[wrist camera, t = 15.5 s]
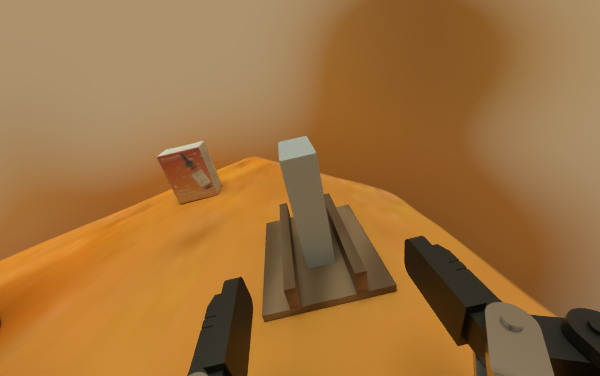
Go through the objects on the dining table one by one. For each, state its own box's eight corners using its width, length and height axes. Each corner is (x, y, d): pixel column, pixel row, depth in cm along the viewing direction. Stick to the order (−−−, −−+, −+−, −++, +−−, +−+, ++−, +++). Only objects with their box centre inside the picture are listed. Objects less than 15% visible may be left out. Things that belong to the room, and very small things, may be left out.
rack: (264, 321, 20) (254, 297, 18) (268, 227, 32) (261, 208, 31) (396, 290, 20) (396, 264, 18) (348, 209, 32) (346, 189, 31)
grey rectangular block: (307, 269, 23) (279, 161, 18) (300, 233, 28) (277, 142, 23) (335, 262, 23) (316, 152, 18) (323, 227, 28) (306, 135, 23)
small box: (179, 205, 46) (154, 157, 41) (187, 193, 51) (165, 149, 46) (218, 195, 46) (198, 146, 42) (222, 184, 51) (204, 139, 46)
